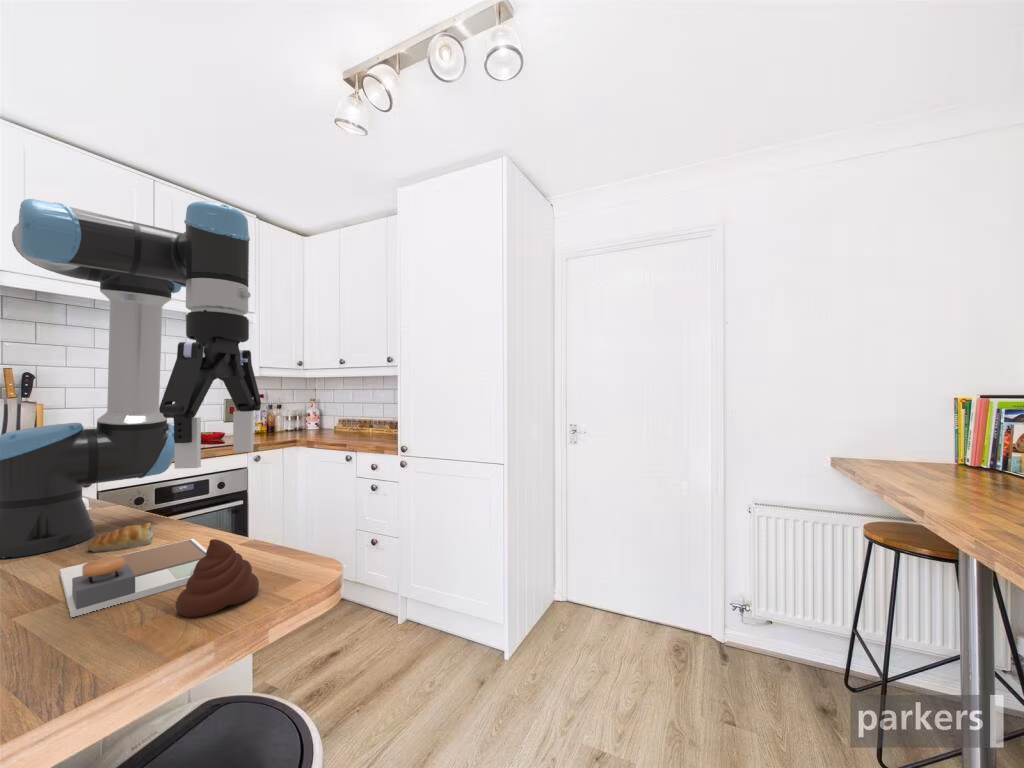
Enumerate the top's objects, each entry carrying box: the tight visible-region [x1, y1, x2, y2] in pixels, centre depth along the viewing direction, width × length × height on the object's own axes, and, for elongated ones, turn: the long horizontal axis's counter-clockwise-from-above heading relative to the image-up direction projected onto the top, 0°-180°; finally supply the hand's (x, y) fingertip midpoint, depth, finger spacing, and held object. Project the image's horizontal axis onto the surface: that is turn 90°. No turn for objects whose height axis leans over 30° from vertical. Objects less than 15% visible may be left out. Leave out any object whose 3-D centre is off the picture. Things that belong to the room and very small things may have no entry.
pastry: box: [86, 522, 154, 553], centre depth 82 cm, size 9×7×4 cm
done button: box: [82, 555, 125, 583], centre depth 61 cm, size 4×4×3 cm
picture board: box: [59, 538, 207, 618], centre depth 70 cm, size 20×18×4 cm
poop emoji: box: [175, 538, 260, 618], centre depth 61 cm, size 10×8×9 cm
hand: (218, 459), depth 61 cm, fingers open, 13 cm apart
